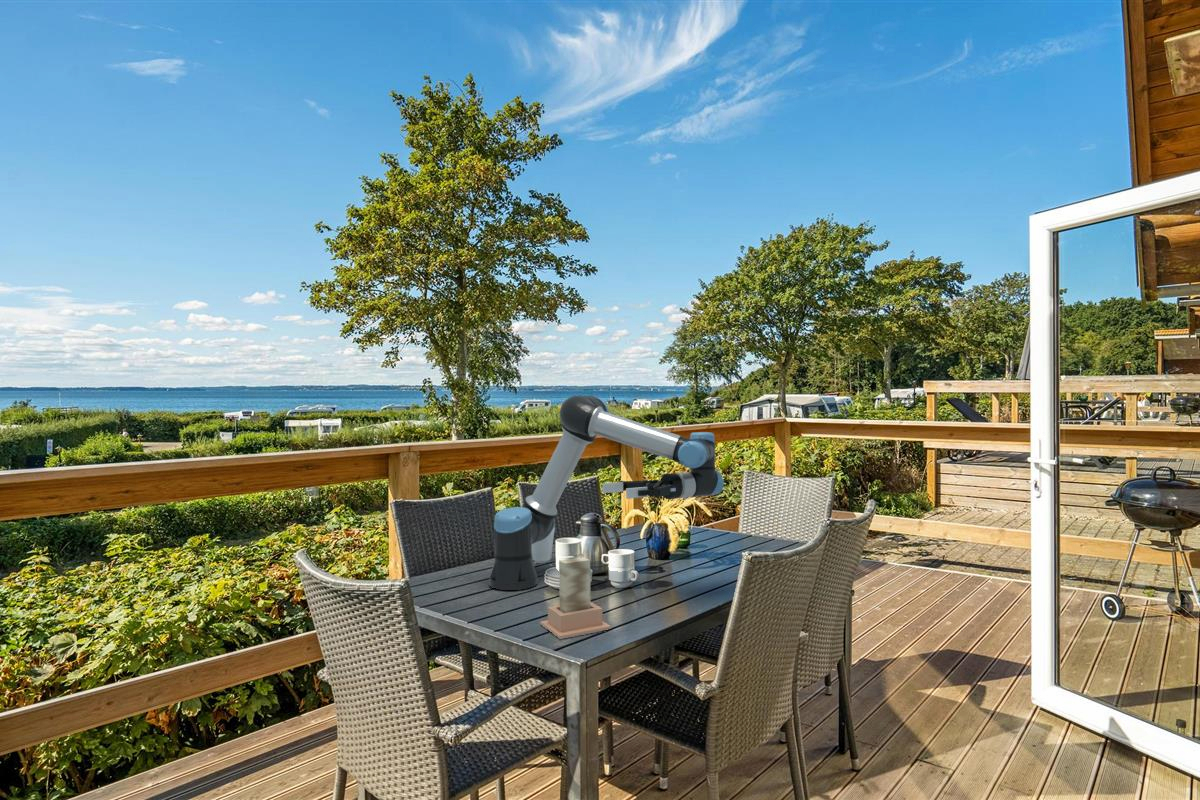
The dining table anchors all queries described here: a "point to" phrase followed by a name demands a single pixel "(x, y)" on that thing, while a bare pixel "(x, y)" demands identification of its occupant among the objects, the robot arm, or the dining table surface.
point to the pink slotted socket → (574, 621)
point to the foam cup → (543, 548)
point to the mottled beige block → (574, 584)
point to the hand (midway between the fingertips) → (614, 490)
